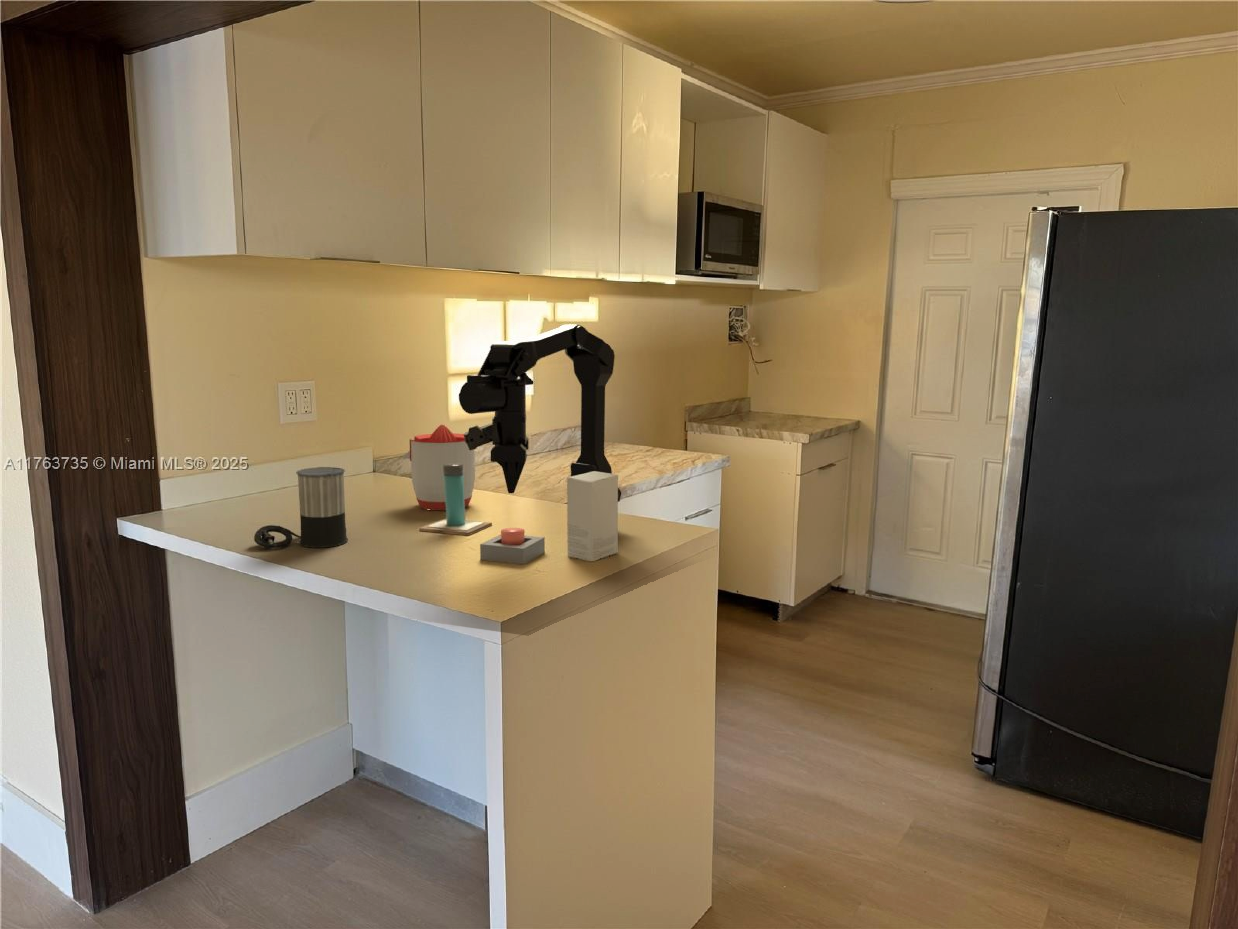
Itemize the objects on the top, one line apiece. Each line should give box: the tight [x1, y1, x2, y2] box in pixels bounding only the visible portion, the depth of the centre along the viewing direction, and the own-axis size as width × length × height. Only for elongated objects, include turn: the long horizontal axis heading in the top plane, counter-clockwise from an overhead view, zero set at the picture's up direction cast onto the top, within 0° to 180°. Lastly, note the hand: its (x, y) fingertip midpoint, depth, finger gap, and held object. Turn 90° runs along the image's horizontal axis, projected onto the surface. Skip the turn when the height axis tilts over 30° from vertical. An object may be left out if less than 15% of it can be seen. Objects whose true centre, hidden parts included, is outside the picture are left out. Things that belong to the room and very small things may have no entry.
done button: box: [500, 527, 525, 546], centre depth 161 cm, size 4×4×3 cm
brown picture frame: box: [418, 517, 493, 537], centre depth 184 cm, size 12×10×1 cm
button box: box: [479, 533, 546, 565], centre depth 162 cm, size 9×9×3 cm
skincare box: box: [566, 471, 619, 562], centre depth 161 cm, size 8×7×16 cm
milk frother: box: [253, 466, 349, 549], centre depth 169 cm, size 14×16×15 cm
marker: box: [443, 463, 466, 526], centre depth 183 cm, size 4×4×13 cm
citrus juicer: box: [402, 424, 476, 511], centre depth 204 cm, size 16×17×20 cm
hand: (511, 492), depth 160 cm, fingers closed
